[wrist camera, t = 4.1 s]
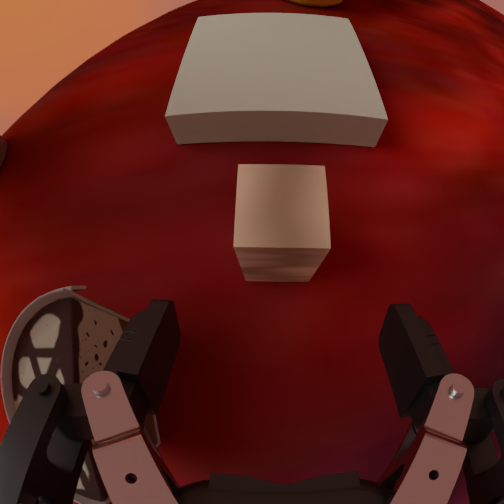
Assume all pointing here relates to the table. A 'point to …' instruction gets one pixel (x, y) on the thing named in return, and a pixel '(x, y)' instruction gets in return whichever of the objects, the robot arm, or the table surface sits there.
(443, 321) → the table surface
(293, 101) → the base board
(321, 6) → the bucket of meat
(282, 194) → the birch block
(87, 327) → the food container
